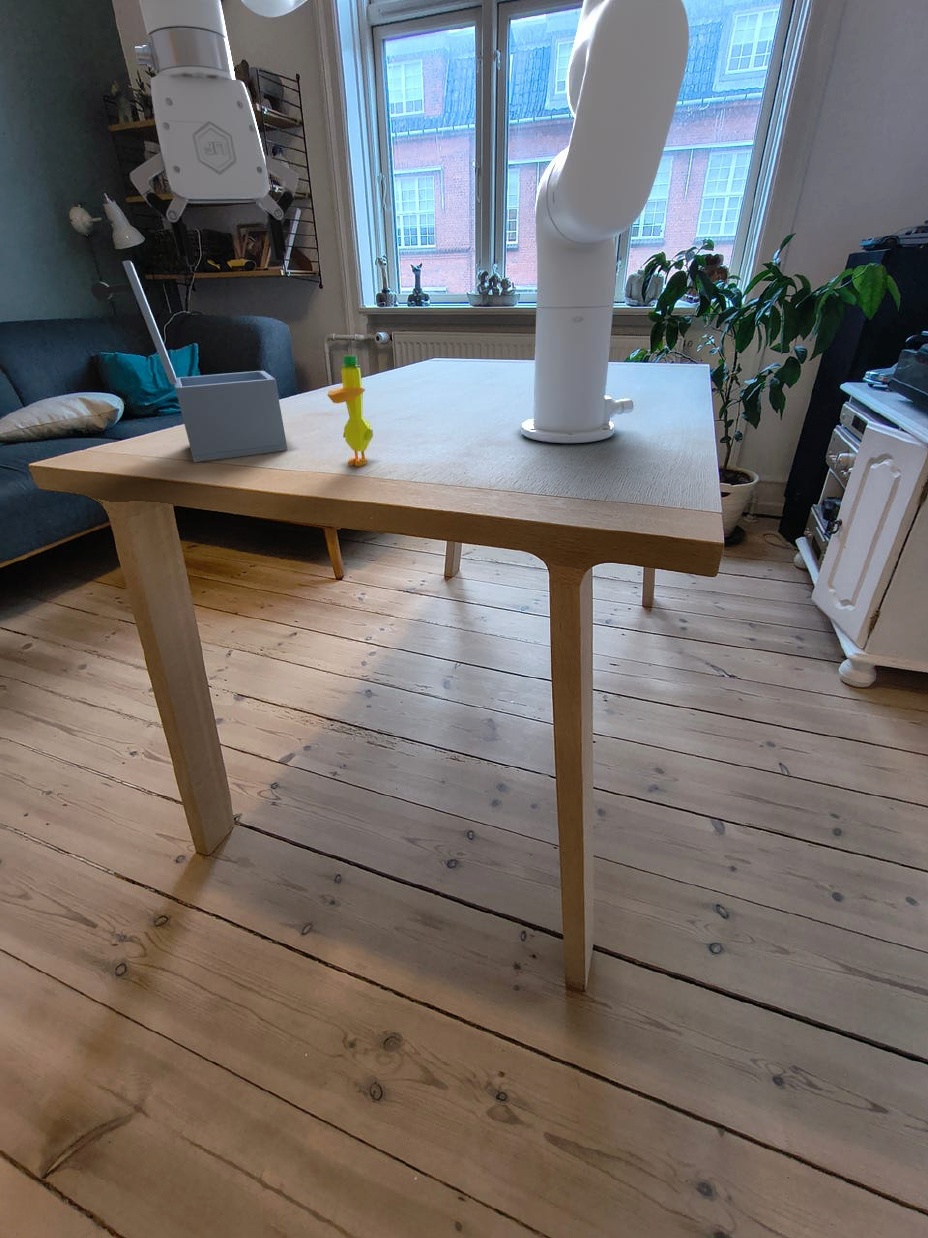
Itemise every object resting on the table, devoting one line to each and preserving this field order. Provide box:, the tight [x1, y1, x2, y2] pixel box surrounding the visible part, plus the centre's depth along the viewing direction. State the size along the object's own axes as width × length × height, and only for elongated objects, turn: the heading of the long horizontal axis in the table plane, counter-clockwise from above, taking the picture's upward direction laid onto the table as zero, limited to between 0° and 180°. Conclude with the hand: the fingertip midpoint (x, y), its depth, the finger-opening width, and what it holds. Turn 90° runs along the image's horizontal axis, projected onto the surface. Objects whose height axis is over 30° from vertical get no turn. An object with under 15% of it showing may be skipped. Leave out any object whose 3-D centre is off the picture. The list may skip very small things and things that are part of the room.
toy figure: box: [326, 355, 374, 467], centre depth 68 cm, size 7×4×12 cm, turn 153°
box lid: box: [90, 260, 177, 385], centre depth 69 cm, size 12×10×5 cm
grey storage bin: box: [173, 370, 288, 463], centre depth 78 cm, size 12×10×9 cm
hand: (235, 263), depth 68 cm, fingers open, 9 cm apart
